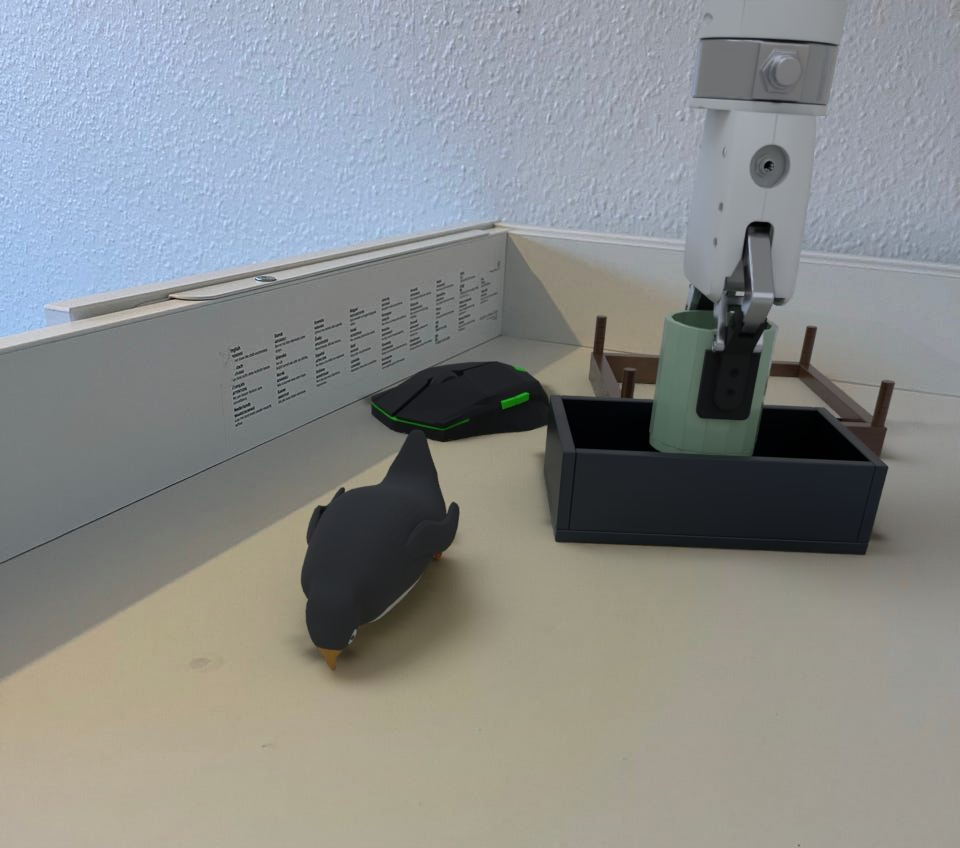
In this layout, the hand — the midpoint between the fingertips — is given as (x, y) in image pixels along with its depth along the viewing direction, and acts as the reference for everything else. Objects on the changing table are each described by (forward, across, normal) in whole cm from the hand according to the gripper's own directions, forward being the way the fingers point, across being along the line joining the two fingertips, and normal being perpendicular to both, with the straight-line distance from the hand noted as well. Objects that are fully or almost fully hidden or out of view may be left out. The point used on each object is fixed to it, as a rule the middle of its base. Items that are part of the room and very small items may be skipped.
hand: (709, 398), depth 63 cm
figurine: (+8, -16, +20) cm, 27 cm away
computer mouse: (+8, +20, +15) cm, 26 cm away
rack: (+8, +24, -7) cm, 26 cm away
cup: (+3, 0, 0) cm, 3 cm away
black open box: (+8, 0, 0) cm, 8 cm away
